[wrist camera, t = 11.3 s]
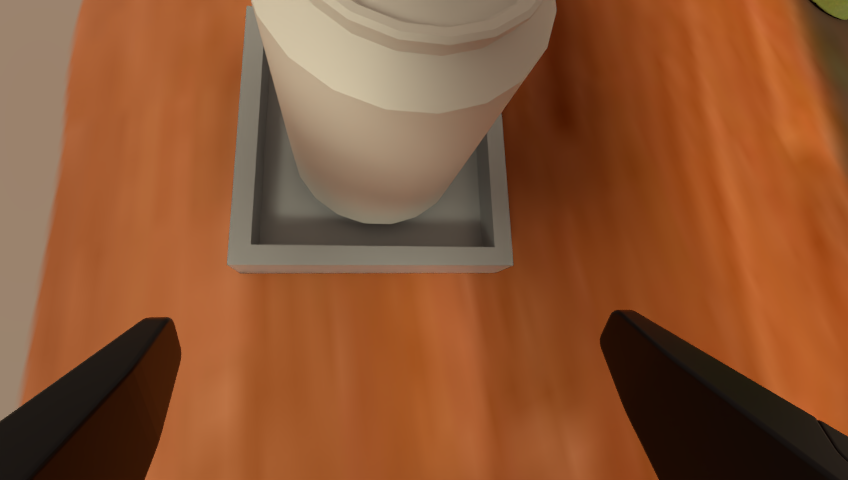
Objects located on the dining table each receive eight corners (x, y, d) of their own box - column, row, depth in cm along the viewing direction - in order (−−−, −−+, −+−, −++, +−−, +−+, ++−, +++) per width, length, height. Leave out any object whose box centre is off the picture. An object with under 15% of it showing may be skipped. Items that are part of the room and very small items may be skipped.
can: (409, 62, 21) (488, -263, 10) (479, 190, 20) (660, 0, 9) (266, 113, 19) (152, -223, 8) (338, 257, 18) (331, 123, 7)
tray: (495, 272, 20) (513, 265, 18) (240, 273, 18) (227, 264, 16) (481, 62, 23) (495, 34, 21) (256, 39, 20) (246, 5, 18)
